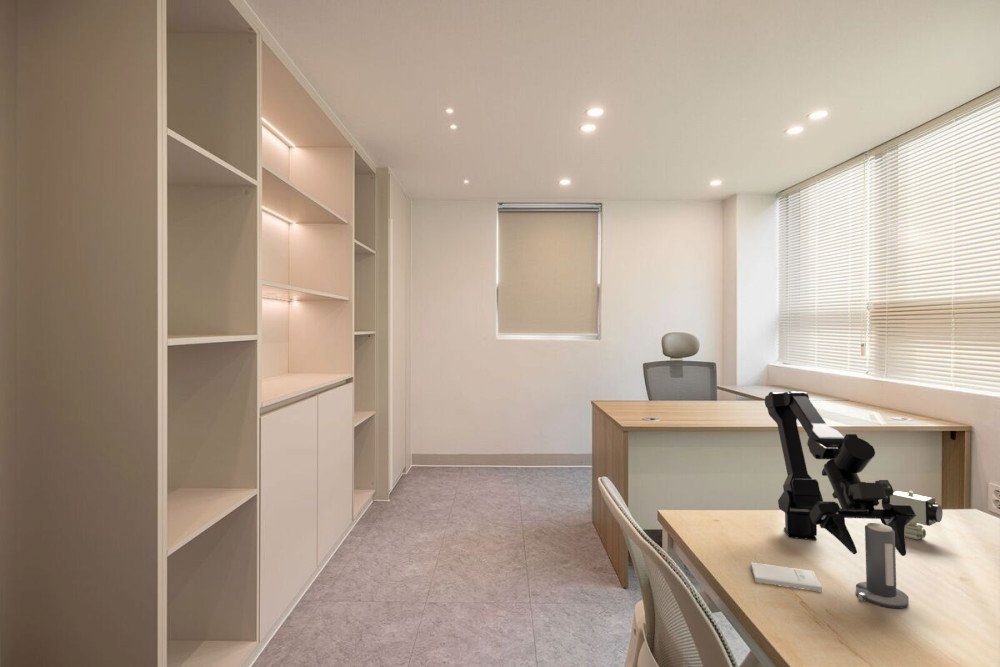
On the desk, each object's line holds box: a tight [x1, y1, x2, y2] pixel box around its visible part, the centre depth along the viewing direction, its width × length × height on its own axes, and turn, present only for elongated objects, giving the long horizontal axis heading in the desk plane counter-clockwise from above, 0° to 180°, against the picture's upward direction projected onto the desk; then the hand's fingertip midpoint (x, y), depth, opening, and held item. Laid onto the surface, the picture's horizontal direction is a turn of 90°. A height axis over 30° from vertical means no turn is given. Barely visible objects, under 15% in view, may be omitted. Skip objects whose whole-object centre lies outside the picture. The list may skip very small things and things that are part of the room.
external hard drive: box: [750, 561, 823, 593], centre depth 108 cm, size 2×8×12 cm
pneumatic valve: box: [881, 489, 944, 541], centre depth 131 cm, size 6×12×12 cm, turn 32°
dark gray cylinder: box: [864, 522, 897, 597], centre depth 100 cm, size 5×5×13 cm
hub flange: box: [855, 581, 910, 610], centre depth 100 cm, size 9×8×1 cm
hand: (879, 554), depth 100 cm, fingers open, 9 cm apart
